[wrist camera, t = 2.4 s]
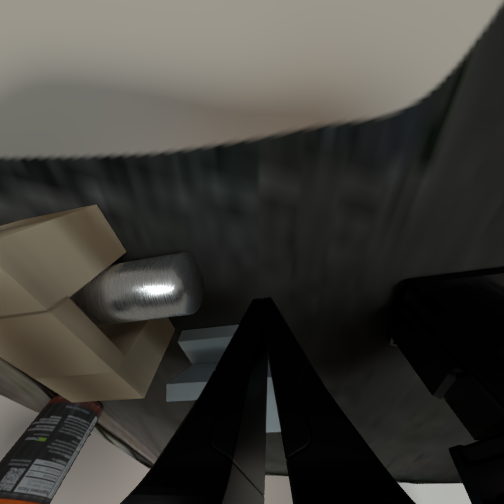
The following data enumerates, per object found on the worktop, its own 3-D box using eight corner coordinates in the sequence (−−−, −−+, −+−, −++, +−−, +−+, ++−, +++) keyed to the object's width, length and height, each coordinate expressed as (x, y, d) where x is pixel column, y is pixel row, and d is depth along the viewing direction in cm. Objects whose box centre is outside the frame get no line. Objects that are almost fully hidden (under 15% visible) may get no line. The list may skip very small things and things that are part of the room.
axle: (193, 245, 11) (164, 265, 8) (207, 293, 12) (186, 329, 9) (47, 269, 13) (-30, 296, 9) (70, 311, 14) (8, 348, 10)
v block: (278, 320, 14) (286, 383, 10) (288, 378, 18) (297, 437, 15) (182, 330, 15) (156, 392, 11) (214, 383, 19) (203, 439, 15)
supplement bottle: (79, 413, 25) (-39, 588, 15) (42, 393, 22) (-133, 594, 12) (115, 409, 24) (15, 594, 14) (82, 388, 21) (-73, 603, 11)
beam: (96, 204, 10) (-23, 246, 5) (175, 329, 15) (144, 398, 11) (19, 220, 10) (-140, 269, 6) (121, 334, 15) (71, 402, 11)
